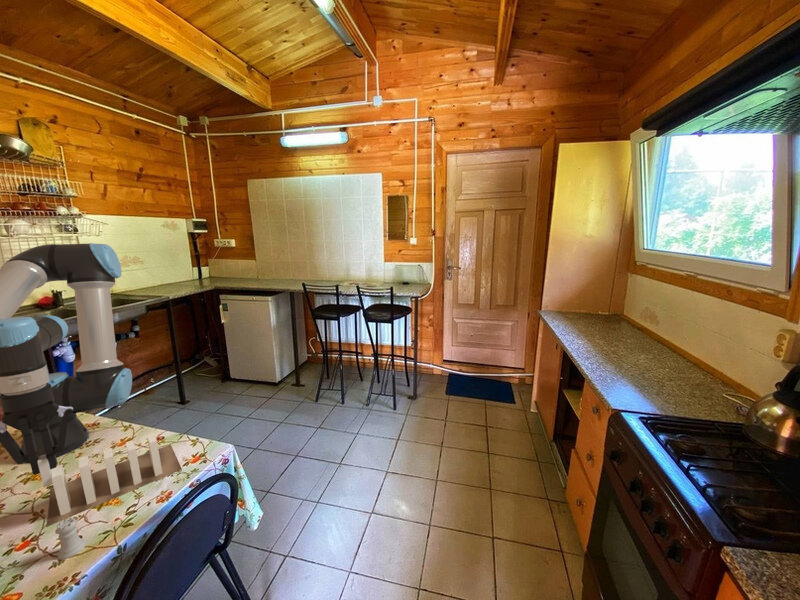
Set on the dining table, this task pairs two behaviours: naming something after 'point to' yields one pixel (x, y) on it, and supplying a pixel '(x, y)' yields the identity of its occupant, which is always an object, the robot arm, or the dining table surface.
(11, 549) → the dining table surface
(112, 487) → the domino
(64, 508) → the domino
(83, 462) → the domino
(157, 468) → the domino
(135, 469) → the domino
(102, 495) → the walnut board
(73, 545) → the rook chess piece
